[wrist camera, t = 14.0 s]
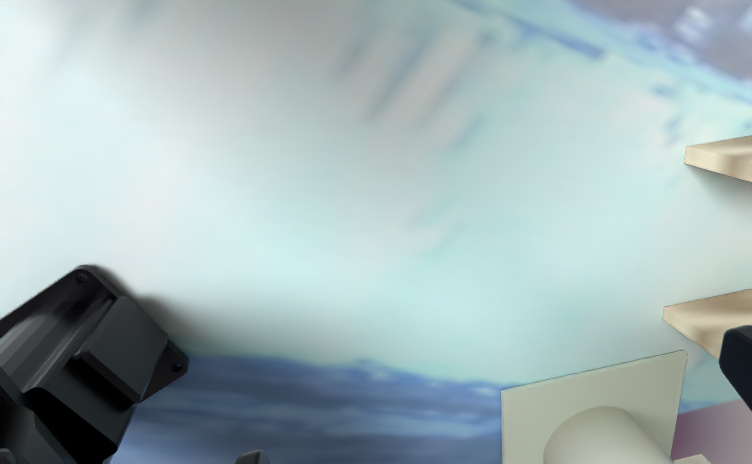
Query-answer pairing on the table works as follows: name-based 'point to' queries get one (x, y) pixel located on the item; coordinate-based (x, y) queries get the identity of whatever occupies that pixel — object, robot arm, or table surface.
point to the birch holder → (726, 311)
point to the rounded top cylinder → (606, 441)
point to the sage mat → (593, 403)
